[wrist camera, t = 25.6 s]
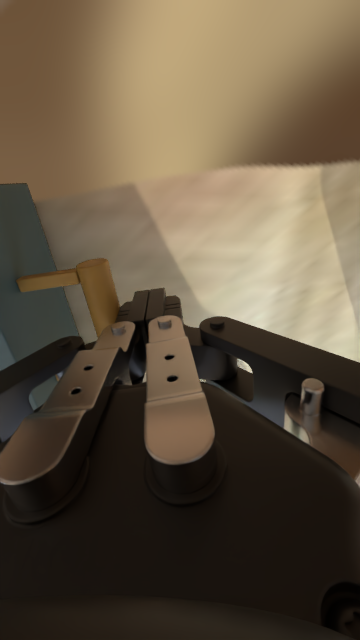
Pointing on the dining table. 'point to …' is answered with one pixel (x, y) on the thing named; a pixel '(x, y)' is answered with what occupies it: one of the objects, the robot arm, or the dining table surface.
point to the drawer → (41, 287)
